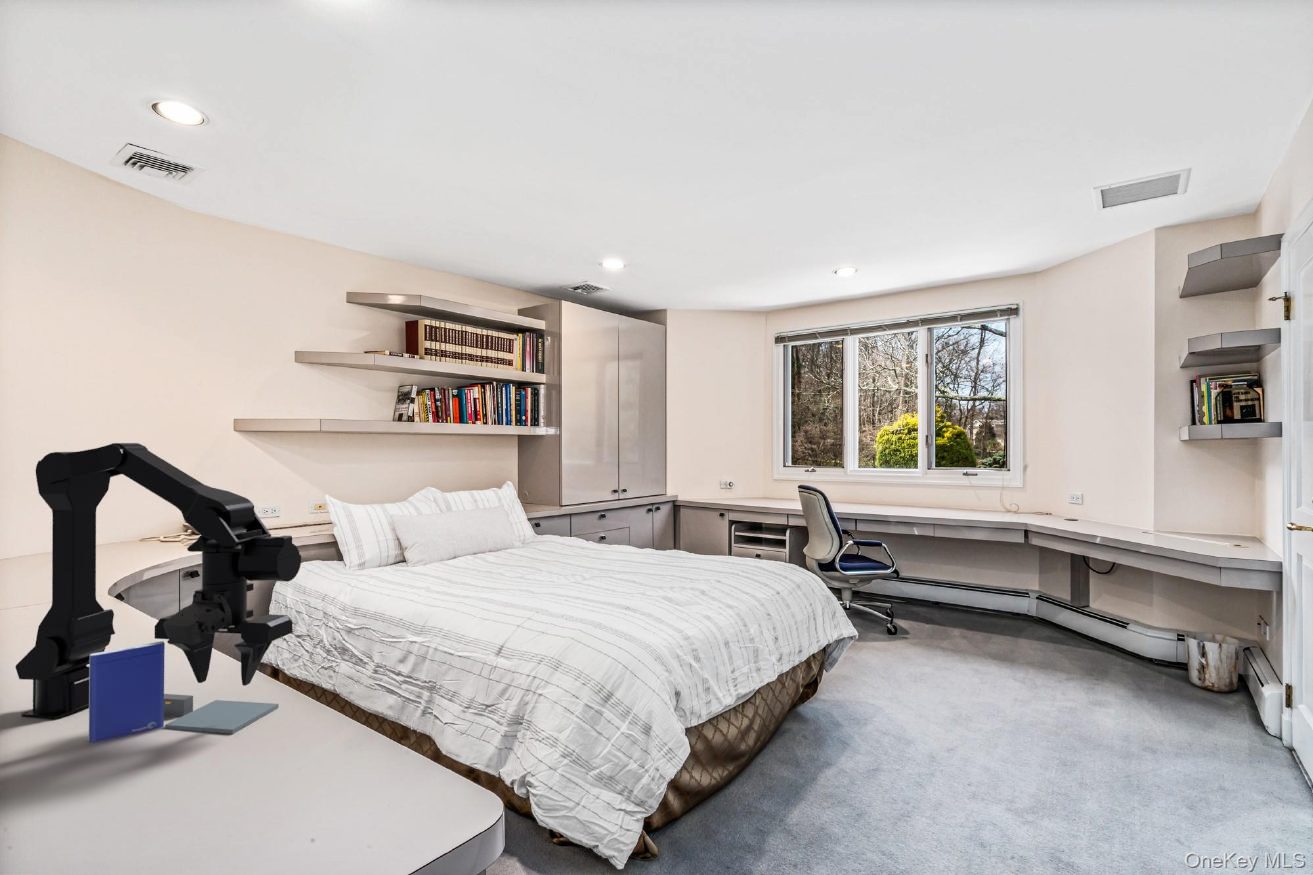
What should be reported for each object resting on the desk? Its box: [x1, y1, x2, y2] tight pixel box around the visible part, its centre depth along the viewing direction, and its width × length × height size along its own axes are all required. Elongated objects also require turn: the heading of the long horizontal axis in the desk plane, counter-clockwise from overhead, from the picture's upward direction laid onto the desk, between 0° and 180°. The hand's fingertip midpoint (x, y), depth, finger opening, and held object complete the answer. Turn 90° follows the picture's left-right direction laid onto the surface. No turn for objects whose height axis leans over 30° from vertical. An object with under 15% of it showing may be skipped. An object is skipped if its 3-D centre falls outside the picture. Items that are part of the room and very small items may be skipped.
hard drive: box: [88, 640, 166, 743], centre depth 90 cm, size 2×8×12 cm, turn 136°
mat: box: [164, 699, 279, 735], centre depth 96 cm, size 11×9×1 cm
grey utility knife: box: [164, 693, 194, 717], centre depth 98 cm, size 12×2×2 cm, turn 82°
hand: (224, 683), depth 96 cm, fingers open, 7 cm apart
